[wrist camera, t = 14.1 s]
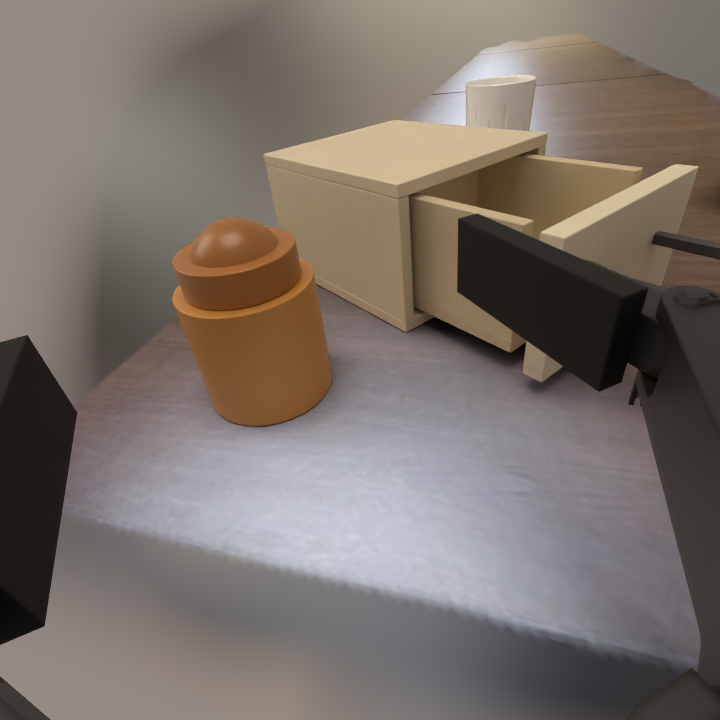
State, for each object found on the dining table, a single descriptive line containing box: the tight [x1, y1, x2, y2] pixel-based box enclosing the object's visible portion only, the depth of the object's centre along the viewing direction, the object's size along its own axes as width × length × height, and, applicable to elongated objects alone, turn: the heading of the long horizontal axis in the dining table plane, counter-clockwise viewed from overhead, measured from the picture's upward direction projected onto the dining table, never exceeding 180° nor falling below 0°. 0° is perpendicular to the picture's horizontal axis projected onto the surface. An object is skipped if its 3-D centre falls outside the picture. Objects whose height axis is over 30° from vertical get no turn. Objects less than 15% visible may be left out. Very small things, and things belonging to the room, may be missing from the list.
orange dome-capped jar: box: [172, 217, 332, 426], centre depth 24 cm, size 7×7×10 cm
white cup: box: [466, 75, 537, 131], centre depth 56 cm, size 8×8×10 cm
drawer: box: [408, 153, 720, 382], centre depth 26 cm, size 22×12×8 cm, turn 39°
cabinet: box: [264, 120, 547, 332], centre depth 36 cm, size 16×14×10 cm
